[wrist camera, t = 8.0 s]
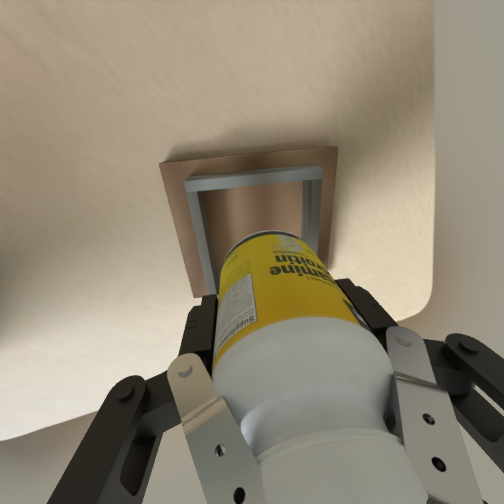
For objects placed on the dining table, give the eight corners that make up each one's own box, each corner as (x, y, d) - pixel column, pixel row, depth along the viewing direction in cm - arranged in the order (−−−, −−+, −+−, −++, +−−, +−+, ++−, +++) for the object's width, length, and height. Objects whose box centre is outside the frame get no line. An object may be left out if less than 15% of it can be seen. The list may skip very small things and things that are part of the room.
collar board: (195, 289, 26) (190, 314, 22) (163, 162, 19) (148, 167, 16) (320, 274, 26) (334, 296, 23) (330, 146, 20) (353, 147, 16)
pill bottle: (329, 277, 16) (514, 538, 5) (255, 319, 17) (292, 594, 7) (284, 205, 13) (488, 460, 3) (200, 262, 14) (121, 581, 4)
